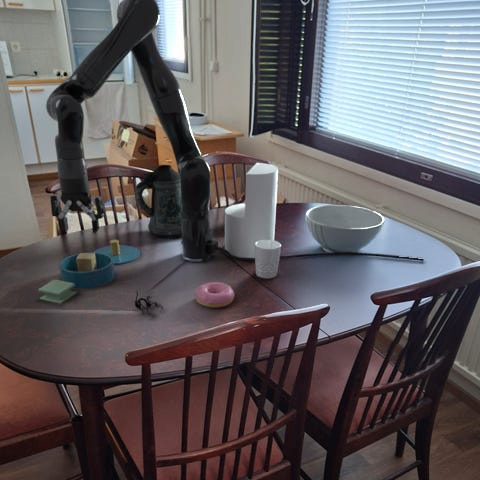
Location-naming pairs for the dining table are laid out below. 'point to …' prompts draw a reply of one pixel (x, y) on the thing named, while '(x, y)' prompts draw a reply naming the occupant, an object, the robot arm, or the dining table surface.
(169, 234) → the beer stein
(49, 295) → the stand
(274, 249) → the white cup
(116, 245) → the tin lid
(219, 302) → the doughnut
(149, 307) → the creature
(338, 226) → the decorative bowl
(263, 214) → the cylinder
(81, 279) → the tin
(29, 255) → the dining table surface
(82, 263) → the block
